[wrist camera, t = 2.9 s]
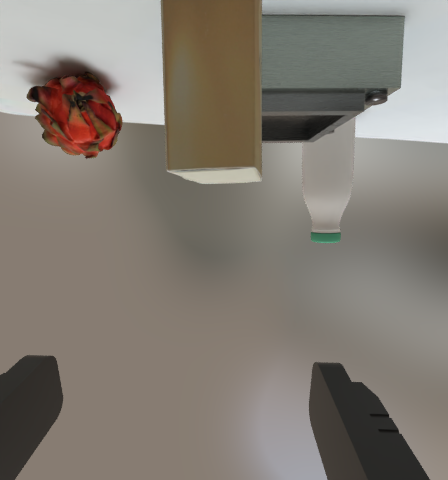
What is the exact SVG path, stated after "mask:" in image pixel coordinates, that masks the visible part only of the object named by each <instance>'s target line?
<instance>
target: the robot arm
mask: <svg viewBox="0 0 448 480" xmlns="http://www.w3.org/2000/svg"><path fill="white" fill-rule="evenodd" d="M62 403H63V394H62V388H61V382H60V376H59V371H58V365H57V361H56V358H55V357H54V356H37V355H27V356H25V357H23V358H22V359H20V360H19V361H18V362H17V363H16V364H15V365H14V366H13V367H12V368H11V369H9V370H8V371H7V372H6V373H3V374H1V375H0V480H15V478H16V477H17V476H18V474H19V473H20V471H21V470H22V468H23V467H24V465H25V464H26V463H27V461H28V460H29V458H30V457H31V455H32V454H33V452H34V451H35V450H36V448H37V447H38V445H39V444H40V442H41V441H42V439H43V438H44V437H45V435H46V434H47V432H48V431H49V429H50V428H51V426H52V425H53V424H54V422H55V420H56V419H57V417H58V415H59V413H60V411H61V408H62ZM309 415H310V421H311V426H312V429H313V433H314V436H315V440H316V443H317V446H318V449H319V453H320V456H321V459H322V463H323V465H324V469H325V472H326V475H327V479H328V480H430V479H429V477H428V476H427V474H426V473H425V471H424V469H423V468H422V466H421V465H420V463H419V461H418V460H417V458H416V457H415V455H414V454H413V452H412V450H411V449H410V447H409V446H408V444H407V442H406V441H405V439H404V438H403V436H402V434H399V430H398V428H397V427H396V425H395V424H394V422H393V420H392V419H391V418H389V414H388V412H387V411H386V409H385V408H384V406H383V404H382V403H381V402H380V400H379V398H378V397H377V396H376V395H375V394H374V393H373V392H372V391H371V390H369V389H368V388H367V387H366V386H365V385H364V384H363V383H362V382H351V380H350V378H349V376H348V374H347V373H346V371H345V369H344V367H343V366H342V364H340V363H320V362H319V363H318V362H315V363H314V364H313V369H312V379H311V389H310V399H309Z"/></svg>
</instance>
